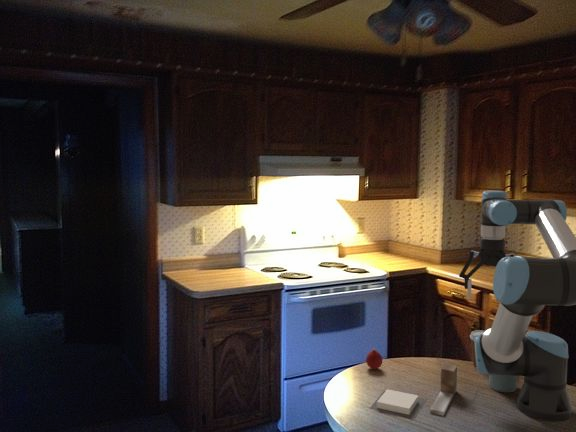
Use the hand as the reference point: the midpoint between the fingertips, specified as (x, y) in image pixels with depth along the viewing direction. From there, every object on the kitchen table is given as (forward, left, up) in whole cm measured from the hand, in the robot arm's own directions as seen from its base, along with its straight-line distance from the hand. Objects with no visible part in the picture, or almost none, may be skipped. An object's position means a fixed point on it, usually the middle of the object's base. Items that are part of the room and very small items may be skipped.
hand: (490, 301), depth 184 cm
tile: (+22, +25, -27) cm, 43 cm away
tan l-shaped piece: (+10, +21, -29) cm, 37 cm away
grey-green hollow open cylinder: (-5, 0, -29) cm, 29 cm away
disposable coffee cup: (+4, -16, -29) cm, 33 cm away
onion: (+38, +6, -29) cm, 48 cm away
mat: (+22, +29, -29) cm, 46 cm away
